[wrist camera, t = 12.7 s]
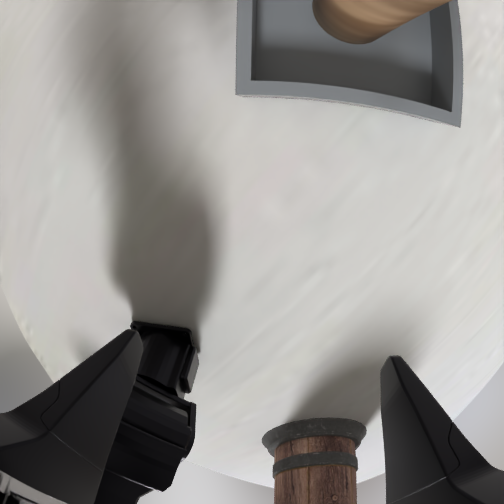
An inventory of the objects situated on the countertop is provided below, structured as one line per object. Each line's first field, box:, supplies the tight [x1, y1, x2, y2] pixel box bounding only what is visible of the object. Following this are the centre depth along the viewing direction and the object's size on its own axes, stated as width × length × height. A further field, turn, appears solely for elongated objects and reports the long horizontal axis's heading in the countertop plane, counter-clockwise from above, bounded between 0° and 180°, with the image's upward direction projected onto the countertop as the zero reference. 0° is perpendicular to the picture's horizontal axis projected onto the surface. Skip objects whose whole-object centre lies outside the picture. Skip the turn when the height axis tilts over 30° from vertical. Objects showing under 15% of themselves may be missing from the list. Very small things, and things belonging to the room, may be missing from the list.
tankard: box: [262, 418, 367, 504], centre depth 30 cm, size 24×17×20 cm
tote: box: [236, 0, 463, 127], centre depth 11 cm, size 14×14×4 cm
